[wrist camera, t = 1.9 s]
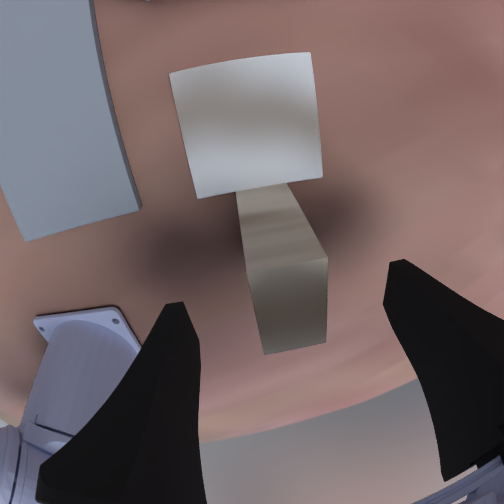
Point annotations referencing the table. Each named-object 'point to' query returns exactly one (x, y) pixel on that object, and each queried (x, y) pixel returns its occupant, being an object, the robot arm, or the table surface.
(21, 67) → the mat
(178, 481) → the robot arm
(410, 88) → the table surface
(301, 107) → the turner
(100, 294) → the table surface
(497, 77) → the table surface
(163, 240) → the table surface
